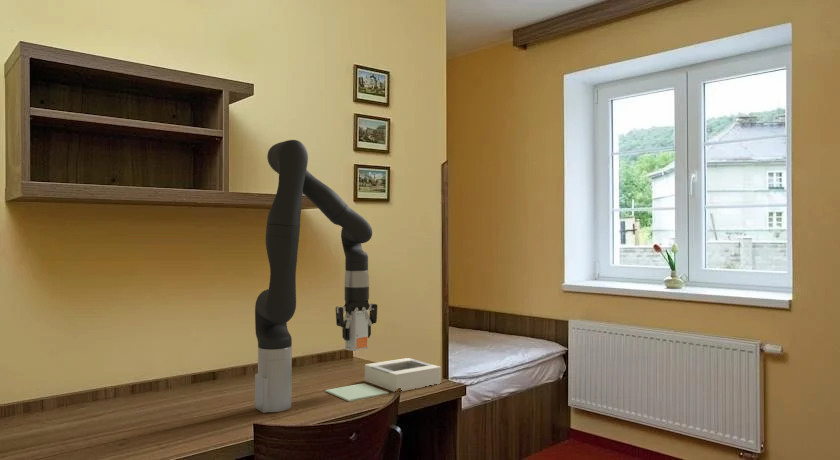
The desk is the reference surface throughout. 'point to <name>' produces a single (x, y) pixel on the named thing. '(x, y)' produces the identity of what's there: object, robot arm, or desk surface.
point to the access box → (402, 374)
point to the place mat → (356, 392)
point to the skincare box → (357, 332)
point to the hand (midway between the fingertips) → (356, 338)
